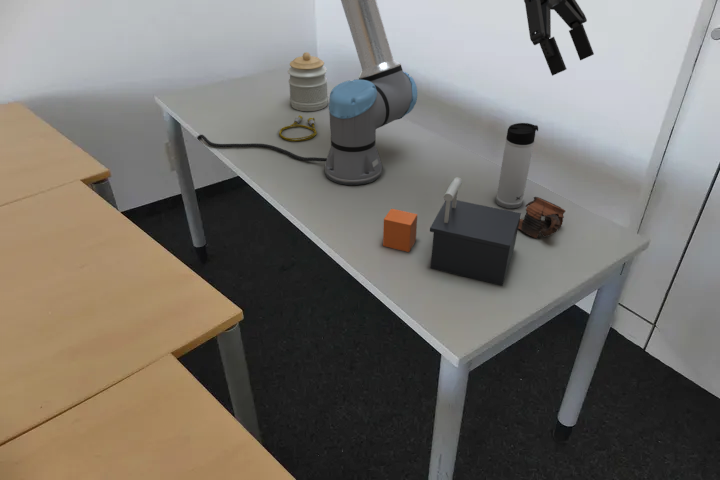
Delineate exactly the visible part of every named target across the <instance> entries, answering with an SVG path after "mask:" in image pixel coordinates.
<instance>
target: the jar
mask: <svg viewBox="0 0 720 480" xmlns="http://www.w3.org/2000/svg"><path fill="white" fill-rule="evenodd" d="M324 65H325V61H324V60H322V59H320V57H317V56H314V55H311V54H310V52H307V51H305V52H303V53H302V55H301V56H298V57H294V59H293V60H291V61H290V62H289V66H290V67H289V68H288V69H287V74H288V75H289V79H288V85H289V86H288V87H289V103H290V106H291V108H293V109H294V110H296V111H301V112H315V111H319V110H323V109H324V108H326V107H327V106H328V105H329V96H328V78H327V75H326V74H327V72H328V69H327V67H326V66H324Z"/></svg>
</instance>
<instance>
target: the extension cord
mask: <svg viewBox="0 0 720 480" xmlns="http://www.w3.org/2000/svg"><path fill="white" fill-rule="evenodd" d="M302 120H303V116H302V115H298V116H297V117H295V119H294V122H293V123H292V124H290V125H286V126H283V127H281V128H280V130H279V131H278V136H279V137H280V138H281V139H282V140H285V141H288V142H304V141H308V140H311V139H313V138H314V137H315V136H316V135H317V133H318V132H317V130H316V127H315V124H316V121H315V120H316V119H315V118H314V117H309V118H307V123H308V124H309V126H308V125H304V124H300V123H302ZM292 128H293V129H294V128H304V129H308V130H311V131H313V133H312V134H309V135H306V136H302V137H287V136H284V135H282V132H283V131H284V130H287V129H292Z"/></svg>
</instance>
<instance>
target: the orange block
mask: <svg viewBox="0 0 720 480" xmlns="http://www.w3.org/2000/svg"><path fill="white" fill-rule="evenodd" d="M417 225H418V213H414V212H409V211H404V210H400V209H396V208H390V210H389V211H388V212H387V214H386V215H385V217H384V218H383V227H382V229H383V232H382V246H383V247H386V248H389V249H393V250H398V251H403V252H406V253H410V252H411V249H412V248H413V246H414V244H415V243H416V241H417V228H418V227H417Z"/></svg>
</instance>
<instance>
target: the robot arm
mask: <svg viewBox="0 0 720 480" xmlns="http://www.w3.org/2000/svg"><path fill="white" fill-rule="evenodd" d="M523 2H524V6H525V11H526V19H527V26H528V33H529V39H530V41H531V43H532V44H533V46H537V45H538V44H539V46H540V49H541V51H542V54H543V56H544V59H545V61H546V64H547V66H548V69H549V71H550V74H551V76H552V77H553V76H555V75H558V74H559V73H562V72H564V71H566V70H567V67H566V64H565V61H564V58H563V56H562V53H561V51H560V49H559V46H558V43H557V41H556V38H555V36H551V35H552V29H551V26H552V24H551V23H552V21H551V19H552V17H551V12H552V11H554V12H555V13H556V14H557V15H558V17H560V19H562V20H563V22H564V23H565V25H566V26H568V28H570V29H569V30H568V33H569V35H570V38H571V41H572V42H573V45H574V49H575V52H576V53H577V56H578V58H579V61H583V60H584V59H587V58H589V57H591V56H594V55H595V52H594V50H593V47H592V45H591V42H590V40H589V36H588V33H587V31H586V29H585V26H584V24H585V23H586V22H587V21H588V20H587V16H586V14H585V13H584V12H583V9H582V8H581V6H580V4H578V2H577V0H523ZM340 3H341V5H342V9H343V12H344V16H345V19H346V22H347V26H348V28H349V29H348V30H349V31H350V36H351V38H352V42H353V45H354V48H355V51H356V54H357V59H358V61H359V64H360V67H361V71H360V74H359V77H358V78H357V79H353V80H345V81H342V82H340V83H338V84H336V85H335V86H334V87H333V88H332V89H331V91H330V93H329V102H328V112H329V129H330V130H329V131H330V146H329V150H328V154H327V157H316V156H315V157H313V156H312V157H311V156H310V157H308V156H307V157H306V156H300V155H297V154H295V153H294V152H291V151H289V150H286V149H283V148H281V147H278V146H275V145H273V144H272V145H271V144H266V143H257V142H256V143H215V142H211V141H210V140H209V139H208V138H207V137H206V136H205V135H204V134H199V135H198V136H197V137H196V139H197V140H201V139H202V140H203V142H204V143H206V144H207V145H208V146H211V147H214V148H264V149H270V150H274V151H277V152H279V153H282V154H284V155H286V156H289V157H291V158H293V159H295V160H298V161H302V162H323V163H324V162H325V165H324V174H325V176H326V177H327V179H328V180H330V181H332V182H334V183H337V184H339V185H346V186H362V185H367V184H369V183H372V182H374V181H377V180H378V179H379V178H380V177H381V176H382V174H383V164H382V161H381V157H380V154H379V151H378V149H377V146H376V145H377V144H376V136H377V135H376V134H377V129H379V128H381V127H384V126H386V125H388V124H390V123H392V122H394V121H398V120H401V119H402V118H404V117H405V116H406V115H408V114H410V113H411V112H412V111H413V109H414V108H415V105H416V103H417V101H418V87H417V83H416V81H415V79H414V78H413V77H412V76H410V73H408V72H406V71H404V70H403V67H402V63H400V62H399V61H397V60H395V59H394V57H393V53H392V50H391V46H390V43H389V40H388V35H387V33H386V29H385V26H384V22H383V19H382V15H381V11H380V9H379V8H380V7H379V5H378V2H377V0H340ZM551 10H552V11H551Z"/></svg>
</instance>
